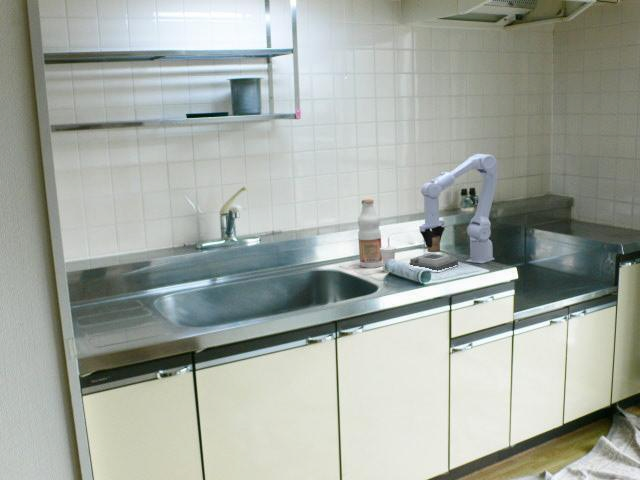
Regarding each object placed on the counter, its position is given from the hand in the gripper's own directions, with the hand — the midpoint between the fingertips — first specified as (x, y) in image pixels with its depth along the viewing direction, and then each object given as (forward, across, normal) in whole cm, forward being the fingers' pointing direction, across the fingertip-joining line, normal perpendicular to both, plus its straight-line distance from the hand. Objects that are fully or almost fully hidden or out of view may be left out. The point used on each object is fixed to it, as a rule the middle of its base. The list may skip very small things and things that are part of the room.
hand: (433, 245), depth 277 cm
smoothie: (+9, -14, +12) cm, 21 cm away
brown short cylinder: (+2, 0, 0) cm, 2 cm away
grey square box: (+9, 0, 0) cm, 9 cm away
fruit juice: (+9, -10, +25) cm, 29 cm away
